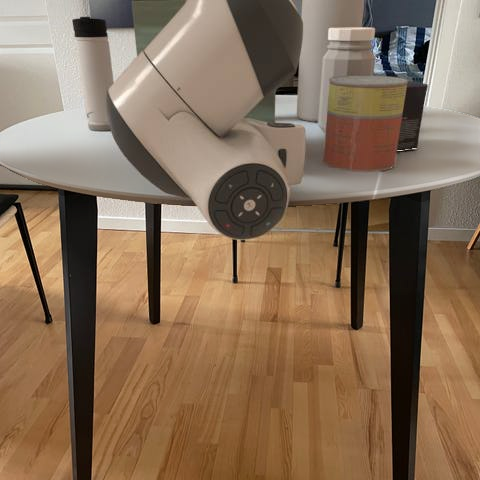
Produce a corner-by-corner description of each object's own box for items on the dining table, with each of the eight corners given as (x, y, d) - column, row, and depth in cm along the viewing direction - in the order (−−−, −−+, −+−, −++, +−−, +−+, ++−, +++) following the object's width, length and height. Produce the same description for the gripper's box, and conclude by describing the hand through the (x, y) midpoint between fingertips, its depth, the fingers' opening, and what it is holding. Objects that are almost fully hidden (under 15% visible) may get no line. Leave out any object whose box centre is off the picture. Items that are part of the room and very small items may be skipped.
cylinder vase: (335, 125, 106) (348, -17, 93) (285, 119, 112) (291, -15, 99) (361, 116, 114) (376, -15, 101) (313, 111, 121) (322, -13, 107)
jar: (309, 128, 103) (316, 27, 94) (351, 125, 106) (362, 27, 96) (330, 137, 95) (340, 28, 86) (375, 134, 98) (389, 28, 88)
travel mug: (85, 131, 101) (67, 16, 91) (92, 125, 107) (75, 16, 96) (116, 131, 102) (101, 16, 91) (121, 125, 107) (108, 16, 97)
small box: (353, 141, 93) (359, 78, 87) (382, 138, 95) (391, 77, 89) (386, 153, 84) (396, 85, 79) (418, 150, 86) (430, 83, 81)
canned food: (378, 153, 85) (389, 74, 78) (407, 170, 75) (422, 83, 69) (314, 155, 83) (320, 76, 77) (334, 174, 74) (343, 85, 67)
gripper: (136, 190, 56) (140, 159, 67) (314, 183, 58) (289, 154, 69) (129, 131, 52) (135, 109, 64) (319, 125, 54) (291, 105, 66)
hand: (216, 132), depth 67 cm, fingers closed
